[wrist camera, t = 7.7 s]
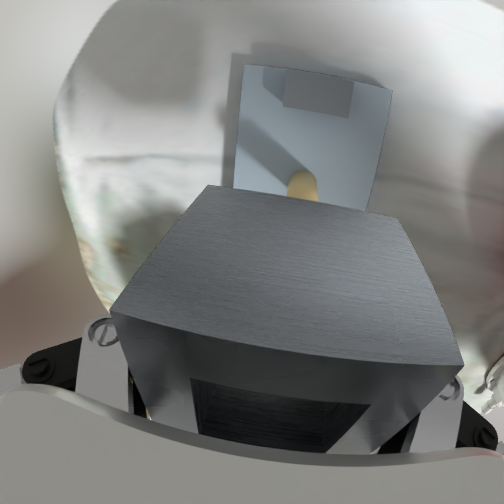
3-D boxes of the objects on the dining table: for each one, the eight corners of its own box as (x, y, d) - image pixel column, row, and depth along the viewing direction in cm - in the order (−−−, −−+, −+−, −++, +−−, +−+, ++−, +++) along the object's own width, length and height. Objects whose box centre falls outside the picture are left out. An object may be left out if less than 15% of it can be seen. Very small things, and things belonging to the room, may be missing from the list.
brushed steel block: (397, 218, 9) (464, 365, 4) (345, 344, 12) (347, 469, 8) (208, 184, 10) (109, 309, 5) (206, 321, 13) (161, 439, 8)
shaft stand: (341, 273, 26) (347, 330, 20) (231, 253, 27) (209, 305, 21) (386, 90, 17) (421, 93, 11) (248, 65, 18) (221, 56, 12)
